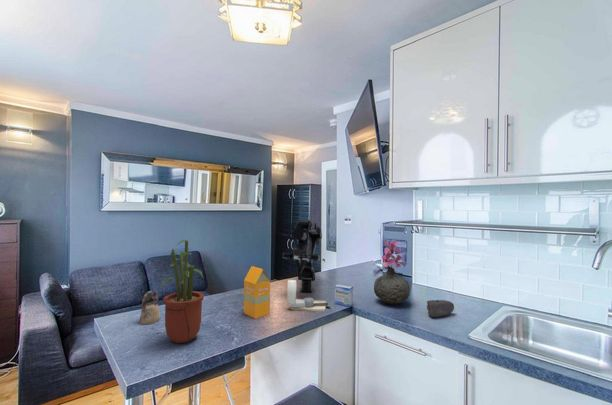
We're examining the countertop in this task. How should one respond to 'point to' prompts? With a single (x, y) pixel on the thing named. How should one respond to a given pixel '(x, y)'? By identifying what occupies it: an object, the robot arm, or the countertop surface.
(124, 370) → the countertop surface
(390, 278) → the vase
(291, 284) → the crank handle
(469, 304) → the countertop surface
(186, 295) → the potted plant
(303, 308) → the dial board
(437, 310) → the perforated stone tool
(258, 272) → the orange juice
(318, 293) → the countertop surface
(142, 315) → the figurine
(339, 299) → the medicine box
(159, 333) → the countertop surface
